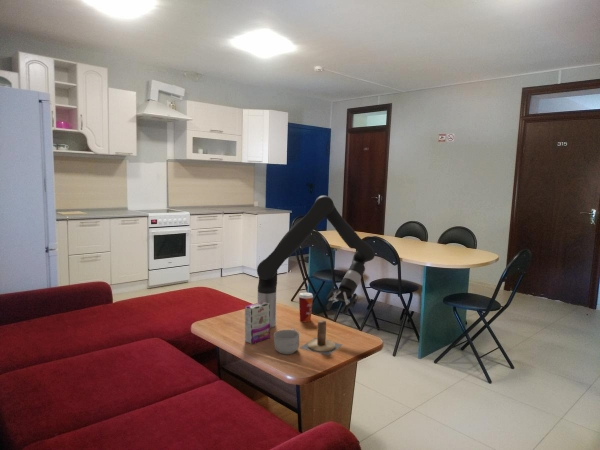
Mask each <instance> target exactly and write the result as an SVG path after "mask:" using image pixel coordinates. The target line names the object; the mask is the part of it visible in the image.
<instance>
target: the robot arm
mask: <svg viewBox="0 0 600 450" xmlns="http://www.w3.org/2000/svg"><path fill="white" fill-rule="evenodd" d="M325 218H326V220H327V221H328V222H329V223H330V225H332V227H333V228H334V229H335V231H336V232H337V234H338V235H339V236H340V238H341V239H342V240H343V242H344V243H345V244H346V246H347V247H349V248H350V249H353V250H356V251H355V253H353V254H354V255H353V257H352V259H351V264H350V266H349V268H348V269H347V272H346V273H345V275H343V276H344V277H342V280H341V281H340V283H339V286H338V289H335V288H333V287H332V288H331V290H330V291H329V293H328V294H327V296H326V300H327V301H328V302H327V304H326V305H325V308H326V309H327V311H330V310H331V308H332V306H333V303H335V302H338V301H340V302H344V303H345V304H344V305H343V307H342V310H341V313H342V315H346V314H347V312H348V311H349V309H350V308H354V307H355V306H356V303H357V302H358V298H359V296H358V294H357V293H355V292H356V290H357V288H358V285H359V284H360V282H361V279H362V277H363V275H364V273H365V270H366V266H365V263H367V262H371V261H372V260H373V259H374V258H375V255H376V254H375V253H376V252H375V251H374V248H373V247H372V246H371V245H370V244H369V243H368V242H367V241H365V240H363V239H362V238H361V237H360V236H359V235H358V233H357V232H356V231H355V229H353V227H352V226H351V225H350V224H349V223H348V222H347V221H346V220H345V218H343V216H342V215H341V214H340V212H339V211H338V209H337V208H336V206H335V204H334V201H333V199H332V198H331V197H329V196H328V195H325V194H324V195H319V196H318V197H316V199H315V201H314V203H313V205H312V206H311V208H310V209H309V210H308V212H307V213H306V214H305V215H304V216H303V217H302V218H301V219H299V220H298V221H297V222H296V223H295V224H294V225H292V226H291V228H290V229H289V230H288V231H287V232H286V233H285V234H284V236H283V237H282V238H281V240H279V242H278V244H277V245H276V246H275V248H274V250H273V251H272V252H271V253H270V254H269V255H268V256H267V257H266V258H265V259H263V260H261V262H260V263H258V265H257V267H256V273H257V276H258V282H257V283H258V284H257V303H259V302H267V303H270V329H271V328H274V327H275V326H276V325H277V287H278V286H277V285H278V270H279V269H280V267H281V266H282V265H283V264H284V262H285V261H286V260H288V259H289V258H290V257H291V256H292V255H293V254H294V253H295V252H297V251H298V249H299V248H300V247H301V246H302V245H303V244H304V242H305V241H307V239H308V238H309V237H310V235H311V234H312V233H313V231H314V230H315V228H316V227H317V226H318V225H319V224H320V223H321V222H322V221H323V220H324V219H325ZM350 299H351V300H350Z"/></svg>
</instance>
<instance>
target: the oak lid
mask: <svg viewBox="0 0 600 450" xmlns="http://www.w3.org/2000/svg"><path fill="white" fill-rule="evenodd" d="M326 331H327V321H326V320H324V319H323V320H318V321H317V337H316V338H317V339H314V338H313V339H314V340H313V339H311V340H309V341H308V342H307V343H308V348H309V349H311V350H313V351H318V352H328V351H332V350H334V349H335V343H336V342H334V341H332V340H329V339H326V338H327V337H326V336H327V335H326V333H327V332H326Z"/></svg>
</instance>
